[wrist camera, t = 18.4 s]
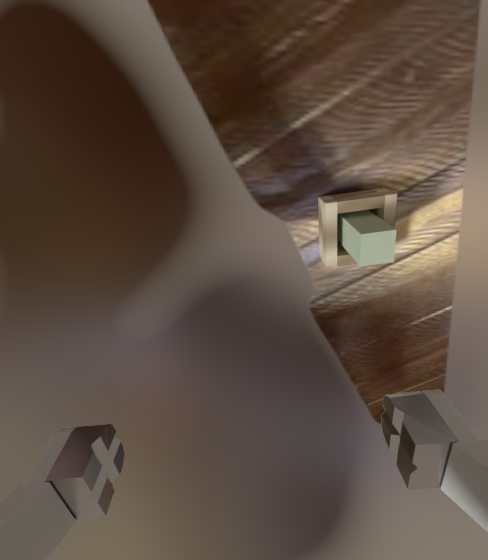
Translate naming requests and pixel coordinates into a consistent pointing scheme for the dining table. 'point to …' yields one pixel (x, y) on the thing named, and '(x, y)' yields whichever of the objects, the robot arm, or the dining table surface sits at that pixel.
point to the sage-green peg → (366, 237)
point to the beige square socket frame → (331, 205)
